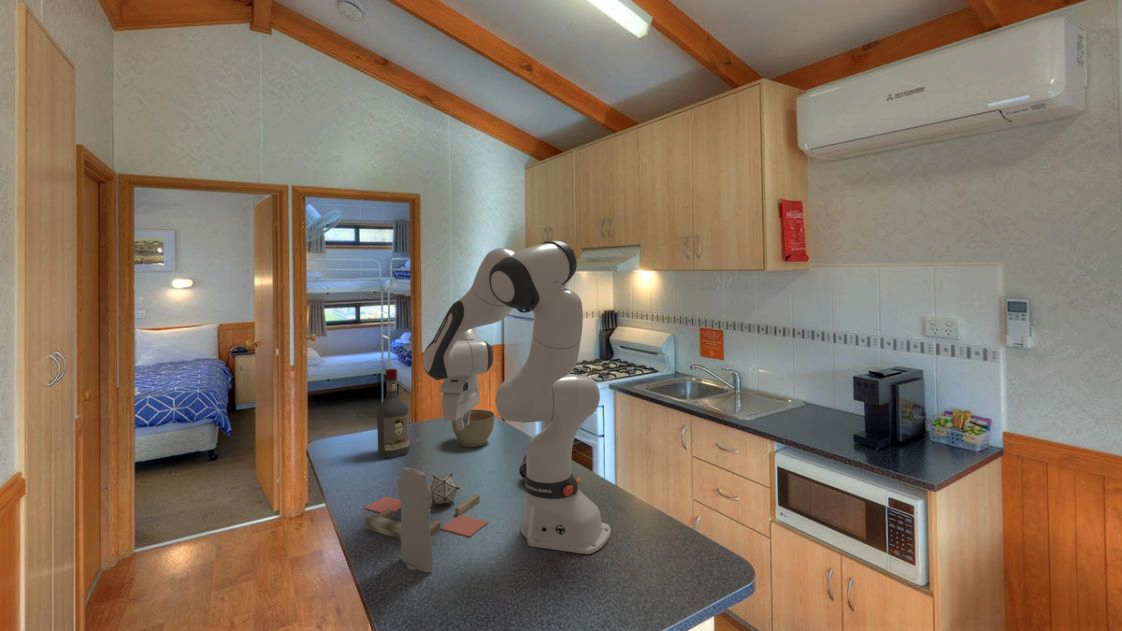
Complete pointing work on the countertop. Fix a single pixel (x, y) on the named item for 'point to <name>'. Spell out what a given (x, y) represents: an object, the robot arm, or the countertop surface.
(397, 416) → the liquor
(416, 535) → the tall pale column
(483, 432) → the planter bowl
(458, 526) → the mats
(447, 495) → the game die
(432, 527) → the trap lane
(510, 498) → the countertop surface
